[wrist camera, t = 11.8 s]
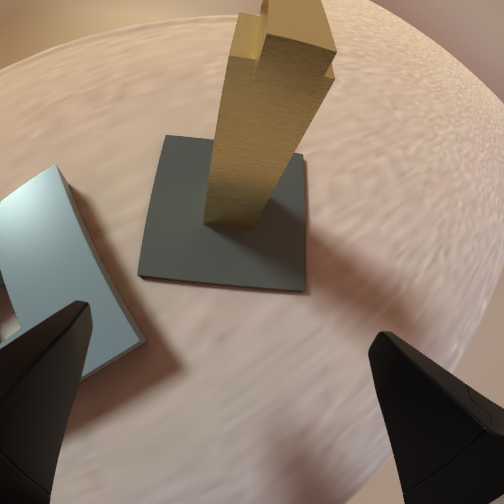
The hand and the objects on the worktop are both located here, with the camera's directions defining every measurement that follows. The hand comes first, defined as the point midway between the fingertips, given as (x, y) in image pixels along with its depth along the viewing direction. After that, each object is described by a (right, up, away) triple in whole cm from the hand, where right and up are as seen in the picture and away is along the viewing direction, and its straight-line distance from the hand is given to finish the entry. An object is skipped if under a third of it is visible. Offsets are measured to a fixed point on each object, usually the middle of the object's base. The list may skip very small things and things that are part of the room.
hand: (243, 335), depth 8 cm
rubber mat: (-1, +5, +11) cm, 12 cm away
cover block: (-15, -2, +6) cm, 17 cm away
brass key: (-1, +5, +10) cm, 12 cm away
